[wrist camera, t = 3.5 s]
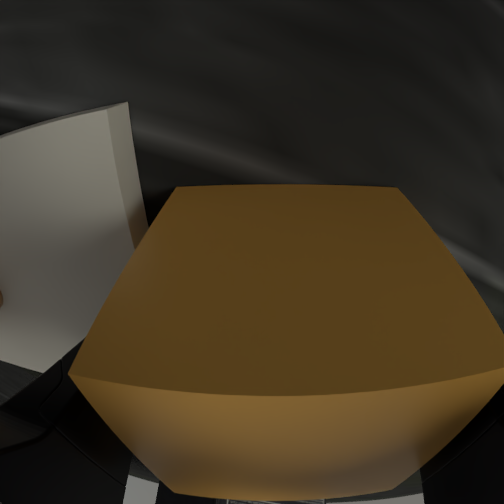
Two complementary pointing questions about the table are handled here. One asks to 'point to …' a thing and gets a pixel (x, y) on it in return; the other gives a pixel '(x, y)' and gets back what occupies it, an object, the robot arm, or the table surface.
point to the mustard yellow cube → (289, 343)
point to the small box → (214, 499)
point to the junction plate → (64, 229)
